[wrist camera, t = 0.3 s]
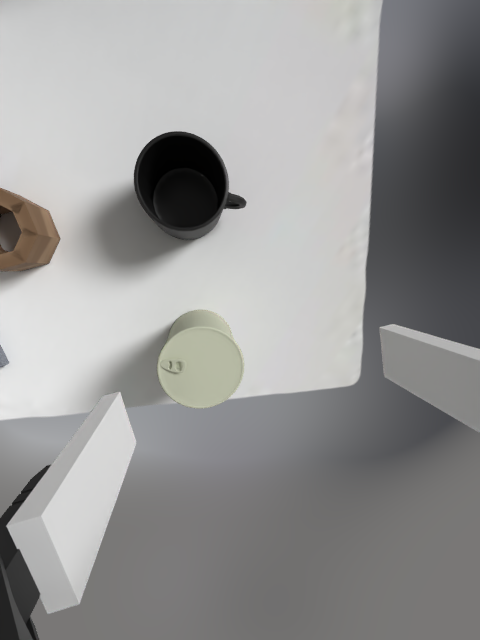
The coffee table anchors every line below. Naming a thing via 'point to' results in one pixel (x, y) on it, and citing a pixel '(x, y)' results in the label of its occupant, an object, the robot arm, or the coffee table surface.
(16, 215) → the collar
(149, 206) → the mug
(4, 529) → the robot arm
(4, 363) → the post board
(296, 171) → the coffee table surface
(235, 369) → the can
